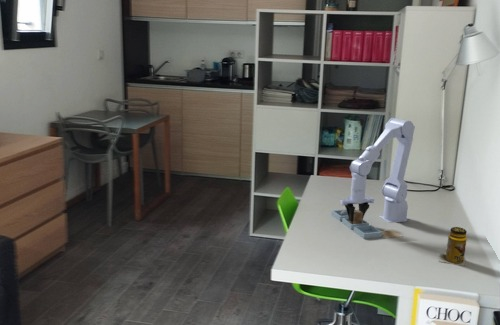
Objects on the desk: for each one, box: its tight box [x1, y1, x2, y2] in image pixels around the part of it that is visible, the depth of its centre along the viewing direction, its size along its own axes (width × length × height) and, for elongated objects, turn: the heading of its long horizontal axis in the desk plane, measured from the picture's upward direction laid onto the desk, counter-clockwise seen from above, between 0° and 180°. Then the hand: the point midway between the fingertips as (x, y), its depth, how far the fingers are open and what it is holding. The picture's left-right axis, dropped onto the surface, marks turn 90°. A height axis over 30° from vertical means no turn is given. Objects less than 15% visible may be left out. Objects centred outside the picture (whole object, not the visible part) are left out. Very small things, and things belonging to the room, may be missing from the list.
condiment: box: [438, 226, 468, 267], centre depth 182 cm, size 7×8×12 cm
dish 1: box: [330, 208, 348, 222], centre depth 222 cm, size 8×8×2 cm
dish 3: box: [353, 224, 383, 240], centre depth 204 cm, size 8×8×2 cm
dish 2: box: [341, 218, 370, 231], centre depth 213 cm, size 8×8×2 cm
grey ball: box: [341, 211, 348, 216], centre depth 222 cm, size 3×3×3 cm
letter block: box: [349, 209, 364, 224], centre depth 212 cm, size 4×4×6 cm
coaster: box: [380, 229, 404, 239], centre depth 205 cm, size 7×7×1 cm
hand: (355, 220), depth 213 cm, fingers closed on letter block, 4 cm apart
